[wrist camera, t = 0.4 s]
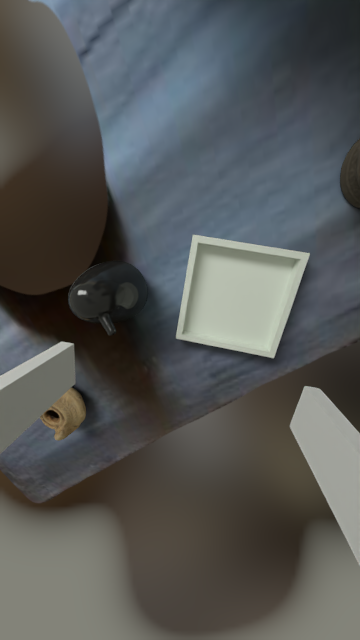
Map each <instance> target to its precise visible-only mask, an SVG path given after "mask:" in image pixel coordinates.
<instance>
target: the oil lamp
mask: <svg viewBox="0 0 360 640" xmlns="http://www.w3.org/2000/svg"><path fill="white" fill-rule="evenodd" d="M85 416H86V407H85V403H84V401H83V399H82V396H81V395H80V393H79V392H78V391H77V390H75V389H74V388H72V387H71V388H70V389H69V390H68V391H67V392H66V393H65V394H64V395H63V396H62V397H61V398H59V399H58V400H57V401H56V402H55V403H54V404H53V405H52V406H51V407H50V408H49V409H48V410H47V411H46V412H44V413H43V414H42V415H41V416H40V419H41V420H42V421H43V423H44V424H45V425H46V426H48V427H50V428H52V429H55V432H56V433H55V439H56V440H62V439H64V438H66V437H67V436H68V435H69V434H71V433H72V432H73V431H74V430H76V429H77V428H78V427H79V426H80V424H81V423H82V422H83V420H84V419H85Z"/></svg>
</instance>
